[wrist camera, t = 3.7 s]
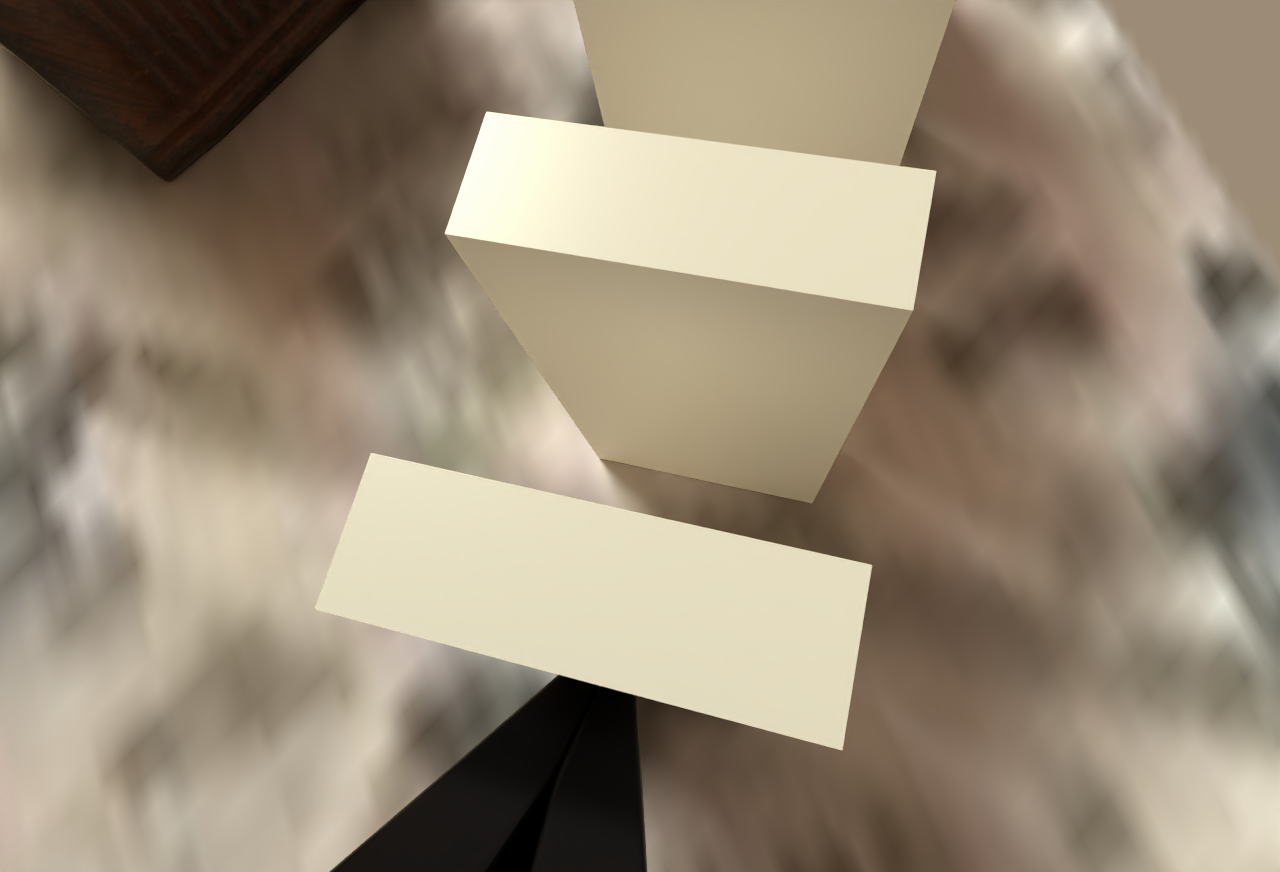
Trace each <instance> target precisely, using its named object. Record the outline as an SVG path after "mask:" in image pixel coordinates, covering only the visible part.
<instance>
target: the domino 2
mask: <svg viewBox="0 0 1280 872" xmlns="http://www.w3.org/2000/svg"><path fill="white" fill-rule="evenodd" d="M935 177H936V171H933V170H926V169H918V168H911V167H903V166H895V165H888V164H880V163H873V162H865V161H857V160H850V159H842V158H835V157H827V156H820V155H812V154H804V153H797V152H789V151H782V150H774V149H767V148H759V147H751V146H744V145H736V144H729V143H721V142H713V141H706V140H698V139H691V138H683V137H676V136H668V135H660V134H653V133H645V132H638V131H630V130H622V129H615V128H607V127H600V126H592V125H585V124H577V123H569V122H562V121H554V120H547V119H539V118H532V117H524V116H516V115H509V114H501V113H494V112H486V114H485V117H484V120H483V123H482V126H481V129H480V132H479V135H478V138H477V141H476V143H475V146H474V149H473V152H472V155H471V158H470V161H469V164H468V167H467V170H466V173H465V176H464V179H463V182H462V185H461V187H460V190H459V193H458V196H457V199H456V202H455V205H454V208H453V211H452V214H451V217H450V220H449V223H448V226H447V228H446V231H445V235H446V236H447V238H448V239H449V241H450V242H451V244H452V245H453V247H454V248H455V250H456V251H457V252H458V254H459V255H460V257H461V258H462V260H463V261H464V263H465V264H466V265H467V267H468V268H469V270H470V271H471V273H472V274H473V276H474V277H475V279H476V280H477V281H478V283H479V284H480V286H481V287H482V289H483V290H484V292H485V293H486V295H487V296H488V297H489V299H490V300H491V302H492V303H493V305H494V306H495V308H496V309H497V311H498V312H499V313H500V315H501V316H502V318H503V319H504V321H505V322H506V324H507V325H508V327H509V328H510V329H511V331H512V332H513V334H514V335H515V337H516V338H517V340H518V341H519V343H520V344H521V345H522V347H523V348H524V350H525V351H526V353H527V354H528V356H529V357H530V358H531V360H532V361H533V363H534V364H535V366H536V367H537V369H538V370H539V372H540V373H541V374H542V376H543V377H544V379H545V380H546V382H547V383H548V385H549V386H550V388H551V389H552V390H553V392H554V393H555V395H556V396H557V398H558V399H559V401H560V402H561V404H562V405H563V406H564V408H565V409H566V411H567V412H568V414H569V415H570V417H571V418H572V420H573V421H574V422H575V424H576V425H577V427H578V428H579V430H580V431H581V433H582V434H583V436H584V437H585V438H586V440H587V441H588V443H589V444H590V446H591V447H592V449H593V450H594V451H595V453H596V454H597V456H598V457H599V458H600V459H605V460H610V461H614V462H619V463H624V464H629V465H633V466H638V467H643V468H647V469H652V470H657V471H661V472H666V473H671V474H676V475H680V476H685V477H690V478H694V479H699V480H704V481H708V482H713V483H718V484H723V485H727V486H732V487H737V488H741V489H746V490H751V491H756V492H760V493H765V494H770V495H774V496H779V497H784V498H788V499H793V500H798V501H803V502H807V503H813V501H814V500H815V498H816V496H817V494H818V492H819V490H820V488H821V486H822V484H823V482H824V480H825V478H826V477H827V475H828V473H829V471H830V469H831V467H832V465H833V463H834V461H835V459H836V457H837V456H838V454H839V452H840V450H841V448H842V446H843V444H844V442H845V440H846V438H847V436H848V434H849V433H850V431H851V429H852V427H853V425H854V423H855V421H856V419H857V417H858V415H859V413H860V412H861V410H862V408H863V406H864V404H865V402H866V400H867V398H868V396H869V394H870V392H871V390H872V389H873V387H874V385H875V383H876V381H877V379H878V377H879V375H880V373H881V371H882V369H883V368H884V366H885V364H886V362H887V360H888V358H889V356H890V354H891V352H892V350H893V348H894V346H895V345H896V343H897V341H898V339H899V337H900V335H901V333H902V331H903V329H904V327H905V325H906V324H907V322H908V320H909V318H910V316H911V314H912V312H913V309H914V303H915V297H916V291H917V285H918V279H919V273H920V267H921V261H922V255H923V249H924V243H925V237H926V231H927V225H928V219H929V213H930V207H931V201H932V195H933V189H934V183H935Z"/></svg>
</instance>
